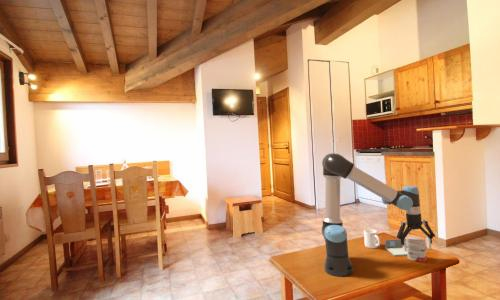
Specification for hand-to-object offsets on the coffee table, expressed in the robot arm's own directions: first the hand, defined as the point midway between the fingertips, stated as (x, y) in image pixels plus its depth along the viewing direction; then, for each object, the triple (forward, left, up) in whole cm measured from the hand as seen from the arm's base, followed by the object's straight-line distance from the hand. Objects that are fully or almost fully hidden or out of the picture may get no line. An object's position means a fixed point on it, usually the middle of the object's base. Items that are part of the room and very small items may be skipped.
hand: (417, 249), depth 151 cm
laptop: (-2, +12, -6) cm, 13 cm away
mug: (-16, +22, -6) cm, 28 cm away
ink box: (0, 0, -6) cm, 6 cm away
